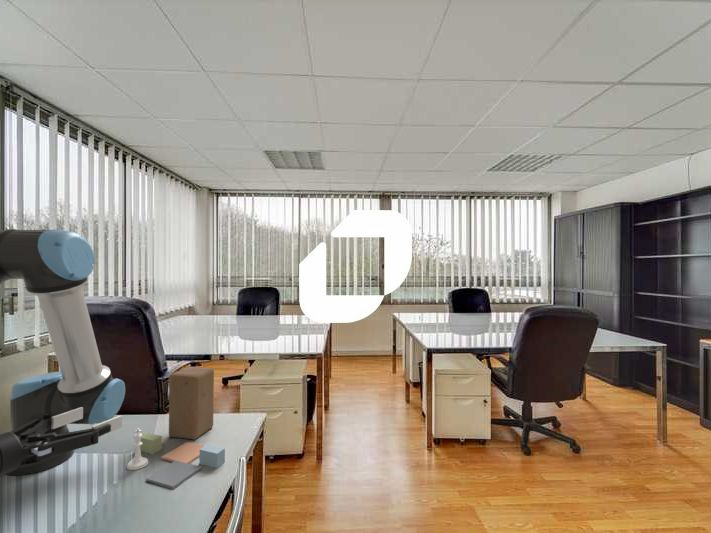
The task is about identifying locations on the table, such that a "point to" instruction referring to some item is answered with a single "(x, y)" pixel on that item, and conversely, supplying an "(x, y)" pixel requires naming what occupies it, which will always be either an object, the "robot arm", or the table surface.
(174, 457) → the pad terracotta
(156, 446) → the brick olive
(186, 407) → the wooden block
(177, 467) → the pad slate
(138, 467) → the chess piece
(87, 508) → the table surface
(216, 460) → the brick blue
